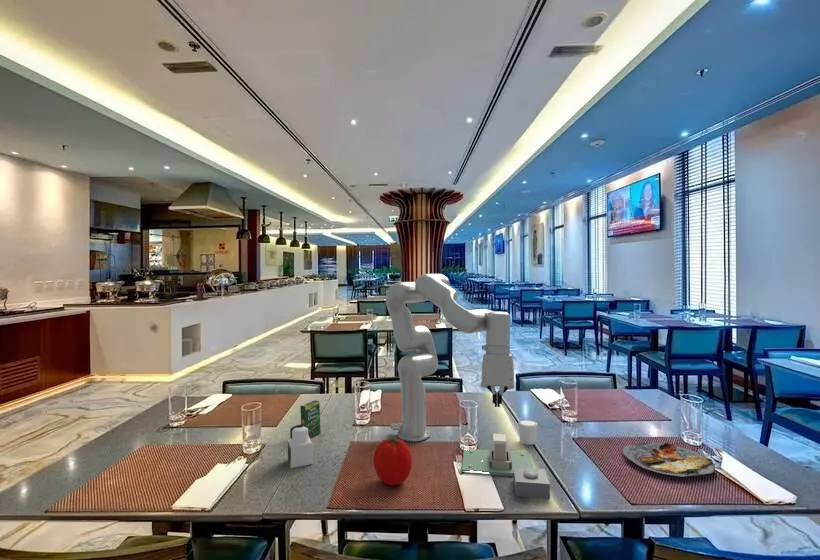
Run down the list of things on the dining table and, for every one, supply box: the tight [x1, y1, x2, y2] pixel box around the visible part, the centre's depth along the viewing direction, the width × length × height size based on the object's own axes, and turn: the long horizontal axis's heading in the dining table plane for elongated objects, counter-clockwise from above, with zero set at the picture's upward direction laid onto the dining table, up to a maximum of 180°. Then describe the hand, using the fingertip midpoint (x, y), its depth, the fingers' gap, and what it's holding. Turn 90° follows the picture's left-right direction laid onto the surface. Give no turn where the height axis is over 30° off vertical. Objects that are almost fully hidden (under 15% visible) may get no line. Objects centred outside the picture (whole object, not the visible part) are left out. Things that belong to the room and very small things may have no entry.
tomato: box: [372, 437, 413, 486], centre depth 120 cm, size 12×12×13 cm
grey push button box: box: [513, 467, 551, 499], centre depth 115 cm, size 9×9×5 cm
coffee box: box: [299, 399, 321, 439], centre depth 158 cm, size 8×3×13 cm, turn 147°
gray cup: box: [517, 419, 538, 446], centre depth 149 cm, size 7×7×7 cm
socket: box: [488, 449, 512, 469], centre depth 130 cm, size 7×9×2 cm
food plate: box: [622, 442, 716, 478], centre depth 130 cm, size 25×23×4 cm
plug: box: [492, 433, 508, 461], centre depth 130 cm, size 4×6×8 cm, turn 169°
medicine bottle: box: [287, 424, 313, 469], centre depth 135 cm, size 7×7×12 cm
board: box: [461, 448, 534, 477], centre depth 132 cm, size 22×16×1 cm
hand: (497, 405), depth 131 cm, fingers closed
